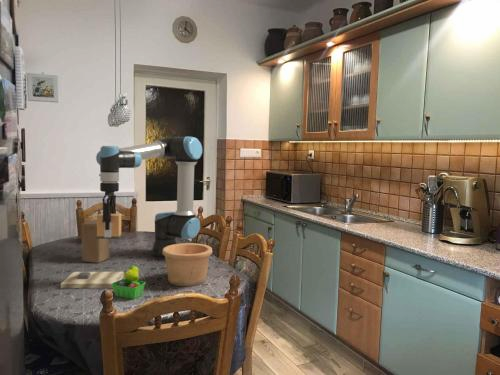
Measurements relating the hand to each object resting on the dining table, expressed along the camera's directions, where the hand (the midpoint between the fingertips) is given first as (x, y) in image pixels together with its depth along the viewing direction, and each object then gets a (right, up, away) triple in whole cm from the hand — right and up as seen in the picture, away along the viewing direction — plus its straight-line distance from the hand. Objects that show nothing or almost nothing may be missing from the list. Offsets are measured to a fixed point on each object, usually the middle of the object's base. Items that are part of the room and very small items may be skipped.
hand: (109, 235), depth 172 cm
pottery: (+33, -21, +6) cm, 39 cm away
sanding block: (0, -1, 0) cm, 1 cm away
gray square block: (-11, -18, 0) cm, 21 cm away
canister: (-31, -13, +71) cm, 78 cm away
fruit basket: (+13, -22, -13) cm, 29 cm away
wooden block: (-19, -17, +33) cm, 42 cm away
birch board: (-7, -20, 0) cm, 21 cm away
